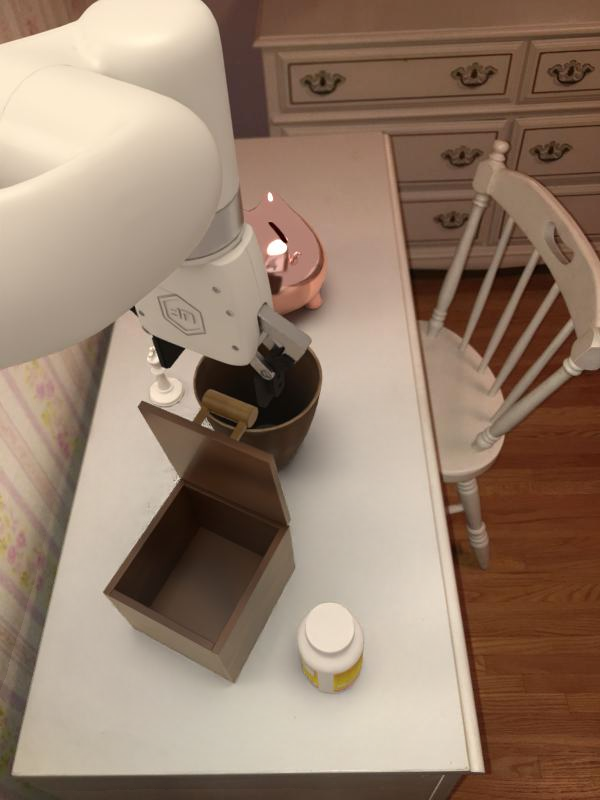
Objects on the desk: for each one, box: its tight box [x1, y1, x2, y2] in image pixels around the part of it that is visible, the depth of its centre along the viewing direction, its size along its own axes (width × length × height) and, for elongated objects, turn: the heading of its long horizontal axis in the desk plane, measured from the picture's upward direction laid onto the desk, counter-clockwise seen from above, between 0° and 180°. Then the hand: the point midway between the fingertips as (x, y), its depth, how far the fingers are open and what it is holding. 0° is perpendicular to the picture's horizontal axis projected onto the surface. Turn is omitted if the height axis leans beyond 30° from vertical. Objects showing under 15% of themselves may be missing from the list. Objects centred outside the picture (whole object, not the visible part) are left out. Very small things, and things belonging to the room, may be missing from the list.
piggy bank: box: [243, 189, 328, 317], centre depth 98 cm, size 15×18×16 cm
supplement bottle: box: [296, 601, 365, 694], centre depth 66 cm, size 7×7×13 cm
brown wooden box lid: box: [137, 389, 292, 526], centre depth 64 cm, size 15×14×5 cm
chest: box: [102, 478, 296, 684], centre depth 71 cm, size 15×14×12 cm
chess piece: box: [146, 345, 185, 408], centre depth 89 cm, size 5×5×10 cm
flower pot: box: [192, 343, 323, 471], centre depth 81 cm, size 15×15×16 cm
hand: (221, 375), depth 56 cm, fingers open, 9 cm apart
